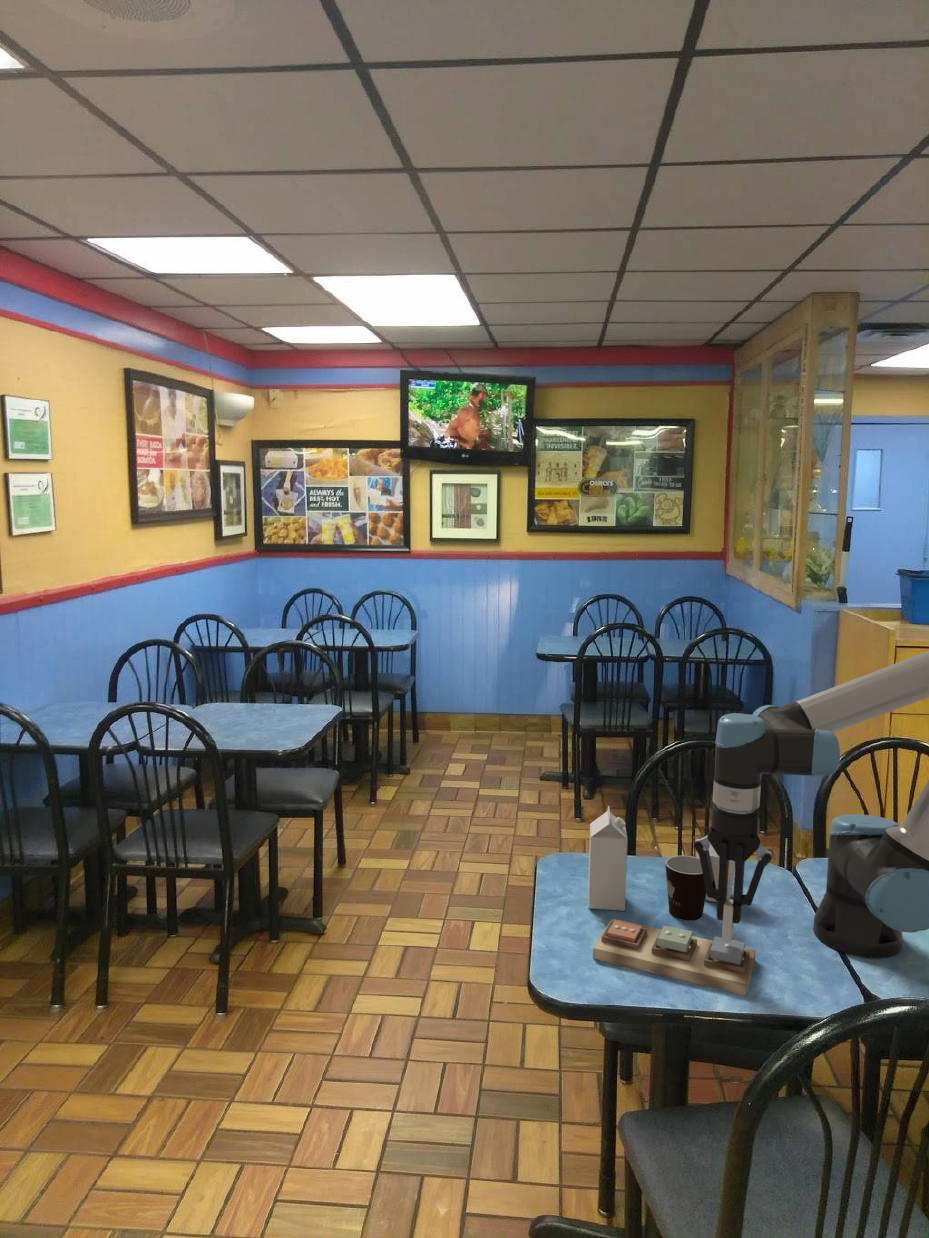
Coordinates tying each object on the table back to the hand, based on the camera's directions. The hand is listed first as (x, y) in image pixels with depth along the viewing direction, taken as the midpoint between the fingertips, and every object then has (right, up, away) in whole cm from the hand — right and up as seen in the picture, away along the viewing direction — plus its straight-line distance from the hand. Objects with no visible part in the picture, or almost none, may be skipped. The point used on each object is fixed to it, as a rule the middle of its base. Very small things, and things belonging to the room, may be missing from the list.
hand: (727, 938), depth 151 cm
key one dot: (0, -3, 0) cm, 3 cm away
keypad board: (-8, -5, +5) cm, 11 cm away
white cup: (+6, -2, +30) cm, 31 cm away
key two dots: (-8, -2, +4) cm, 9 cm away
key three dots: (-16, -3, +8) cm, 18 cm away
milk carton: (-17, -2, +26) cm, 31 cm away
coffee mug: (-1, -3, +23) cm, 24 cm away
